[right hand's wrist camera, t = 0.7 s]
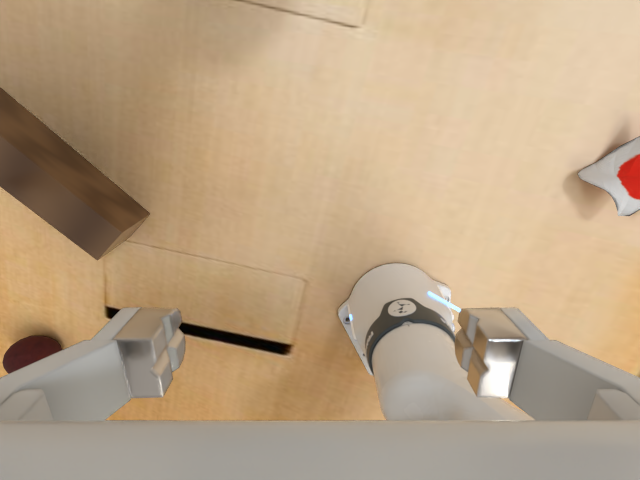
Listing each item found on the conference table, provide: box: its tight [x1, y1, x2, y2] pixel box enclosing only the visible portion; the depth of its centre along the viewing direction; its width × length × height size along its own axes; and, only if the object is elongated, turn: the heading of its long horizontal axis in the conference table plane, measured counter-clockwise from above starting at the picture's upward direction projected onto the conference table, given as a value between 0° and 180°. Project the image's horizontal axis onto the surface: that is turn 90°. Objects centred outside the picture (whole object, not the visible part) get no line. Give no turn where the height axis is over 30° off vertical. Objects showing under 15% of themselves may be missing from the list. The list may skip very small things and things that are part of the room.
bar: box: [0, 88, 150, 260], centre depth 47 cm, size 28×6×8 cm, turn 44°
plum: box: [3, 336, 62, 374], centre depth 59 cm, size 7×8×7 cm
